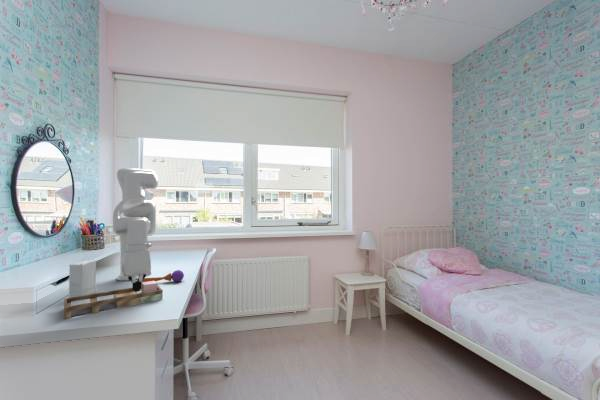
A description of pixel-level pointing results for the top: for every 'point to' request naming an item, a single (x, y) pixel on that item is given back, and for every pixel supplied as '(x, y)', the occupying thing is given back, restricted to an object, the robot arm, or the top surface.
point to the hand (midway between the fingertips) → (136, 290)
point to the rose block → (148, 286)
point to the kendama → (167, 277)
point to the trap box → (109, 301)
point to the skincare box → (82, 278)
